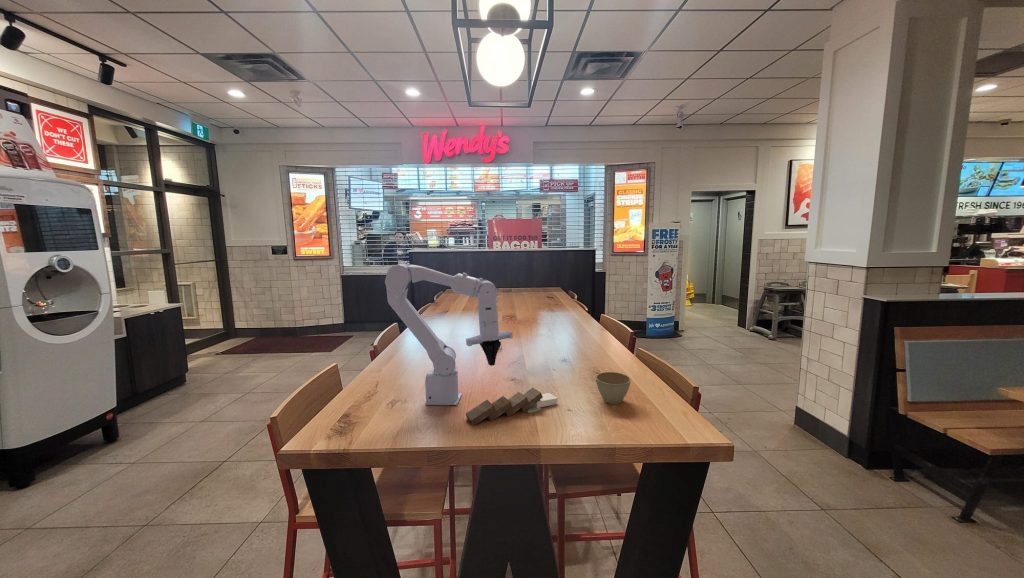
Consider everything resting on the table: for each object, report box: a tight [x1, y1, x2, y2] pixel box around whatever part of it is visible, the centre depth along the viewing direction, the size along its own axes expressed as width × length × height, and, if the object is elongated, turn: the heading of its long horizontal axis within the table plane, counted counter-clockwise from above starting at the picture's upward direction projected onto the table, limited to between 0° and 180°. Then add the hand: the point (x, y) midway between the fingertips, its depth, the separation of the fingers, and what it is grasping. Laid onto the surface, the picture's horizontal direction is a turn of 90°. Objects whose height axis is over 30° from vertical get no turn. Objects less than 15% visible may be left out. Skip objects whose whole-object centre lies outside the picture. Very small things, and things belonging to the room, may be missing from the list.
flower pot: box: [595, 371, 632, 405], centre depth 115 cm, size 10×10×7 cm
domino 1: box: [465, 399, 496, 426], centre depth 104 cm, size 2×4×7 cm
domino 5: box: [533, 392, 558, 408], centre depth 114 cm, size 2×4×7 cm
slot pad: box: [526, 406, 542, 414], centre depth 112 cm, size 4×6×1 cm, turn 28°
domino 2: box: [486, 395, 512, 422], centre depth 107 cm, size 2×4×7 cm
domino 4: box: [519, 387, 543, 413], centre depth 111 cm, size 2×4×7 cm
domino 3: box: [503, 391, 528, 418], centre depth 109 cm, size 2×4×7 cm
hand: (491, 364), depth 118 cm, fingers closed
